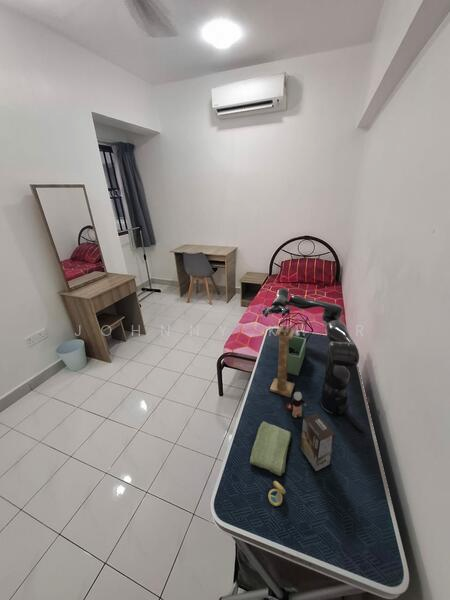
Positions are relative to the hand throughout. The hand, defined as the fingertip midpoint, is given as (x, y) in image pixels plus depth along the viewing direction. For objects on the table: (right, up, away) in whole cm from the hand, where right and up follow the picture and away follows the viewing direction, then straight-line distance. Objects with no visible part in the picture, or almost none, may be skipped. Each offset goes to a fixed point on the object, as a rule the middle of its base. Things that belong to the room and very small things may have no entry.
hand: (274, 315), depth 122 cm
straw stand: (+3, -35, -4) cm, 36 cm away
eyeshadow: (-9, -56, -45) cm, 73 cm away
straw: (+12, -26, +10) cm, 31 cm away
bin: (+12, -27, +11) cm, 32 cm away
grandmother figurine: (+6, -42, -19) cm, 46 cm away
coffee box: (+8, -50, -35) cm, 61 cm away
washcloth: (-8, -49, -31) cm, 59 cm away
